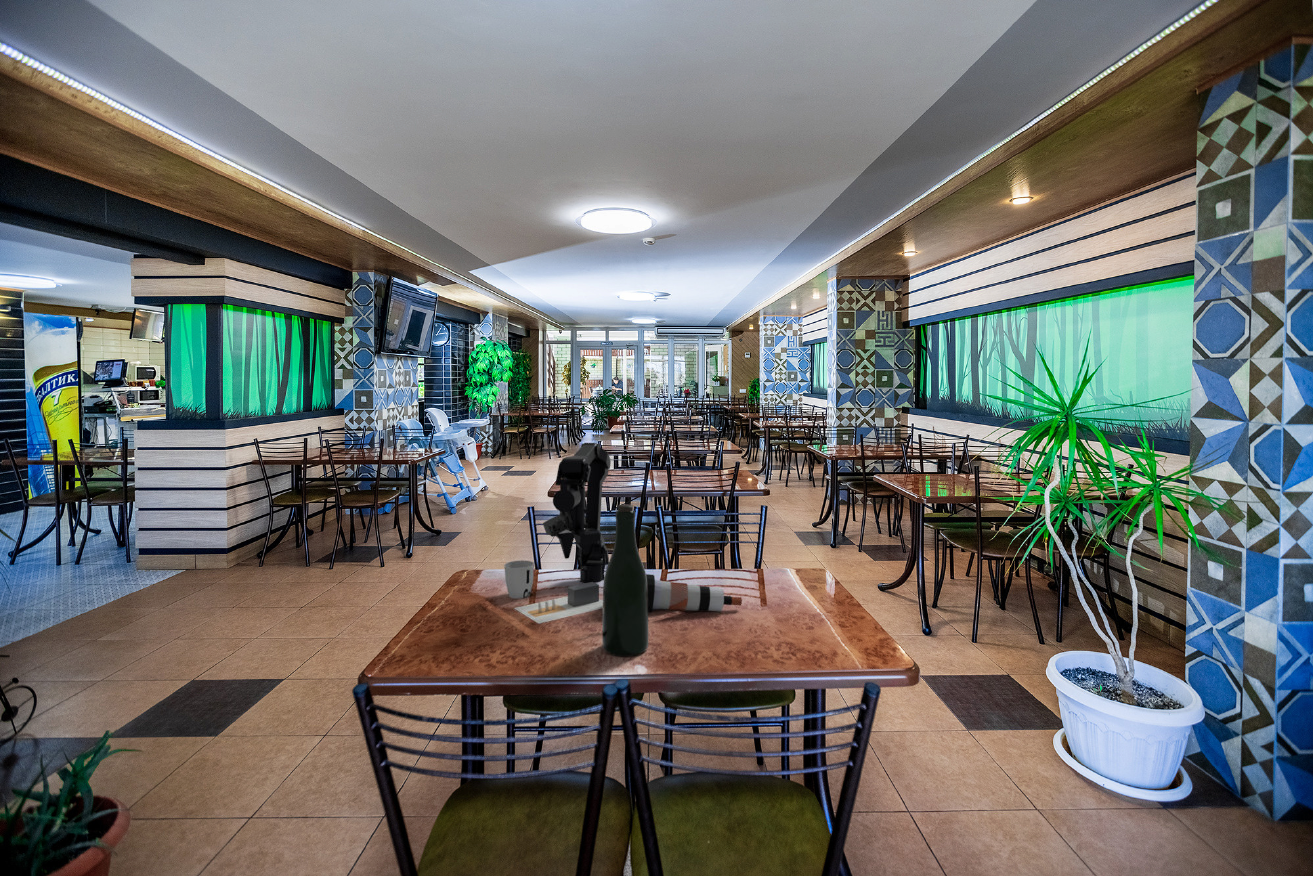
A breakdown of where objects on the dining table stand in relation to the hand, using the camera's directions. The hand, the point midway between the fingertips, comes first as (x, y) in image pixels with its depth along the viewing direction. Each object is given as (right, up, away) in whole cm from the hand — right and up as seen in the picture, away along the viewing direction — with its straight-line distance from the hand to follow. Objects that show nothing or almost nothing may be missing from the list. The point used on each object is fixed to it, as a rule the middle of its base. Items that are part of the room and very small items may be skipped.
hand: (574, 562), depth 176 cm
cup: (-16, -12, +7) cm, 21 cm away
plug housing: (+2, -11, +1) cm, 11 cm away
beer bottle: (+15, -15, -27) cm, 34 cm away
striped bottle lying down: (+27, -13, -3) cm, 30 cm away
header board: (-2, -12, -3) cm, 13 cm away
